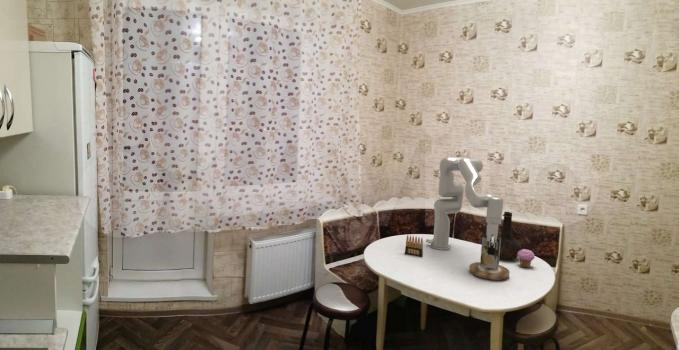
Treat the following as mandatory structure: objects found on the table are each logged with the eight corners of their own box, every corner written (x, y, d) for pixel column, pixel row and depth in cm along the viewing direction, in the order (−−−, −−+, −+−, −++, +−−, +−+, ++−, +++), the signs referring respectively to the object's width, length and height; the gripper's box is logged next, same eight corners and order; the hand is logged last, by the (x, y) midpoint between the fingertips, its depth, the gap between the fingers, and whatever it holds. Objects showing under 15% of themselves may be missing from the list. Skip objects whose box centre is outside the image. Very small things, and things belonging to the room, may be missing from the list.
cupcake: (516, 267, 225) (518, 250, 224) (516, 262, 233) (517, 246, 232) (534, 270, 222) (535, 253, 221) (532, 265, 230) (534, 248, 229)
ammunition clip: (404, 254, 242) (405, 234, 240) (405, 253, 244) (406, 234, 242) (421, 257, 237) (423, 237, 235) (422, 256, 238) (424, 237, 237)
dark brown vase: (517, 254, 248) (522, 210, 244) (522, 264, 231) (527, 217, 227) (487, 251, 253) (491, 207, 249) (490, 260, 236) (494, 214, 232)
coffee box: (499, 266, 214) (502, 237, 212) (497, 269, 209) (500, 240, 206) (481, 262, 219) (483, 234, 216) (479, 266, 213) (482, 237, 211)
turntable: (469, 276, 208) (469, 272, 207) (469, 263, 226) (469, 259, 226) (510, 282, 201) (511, 278, 201) (507, 268, 220) (508, 264, 220)
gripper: (485, 215, 219) (482, 246, 222) (486, 223, 203) (483, 256, 206) (500, 217, 217) (497, 248, 220) (502, 224, 201) (499, 258, 203)
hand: (490, 252), depth 213 cm, fingers closed on coffee box, 7 cm apart
